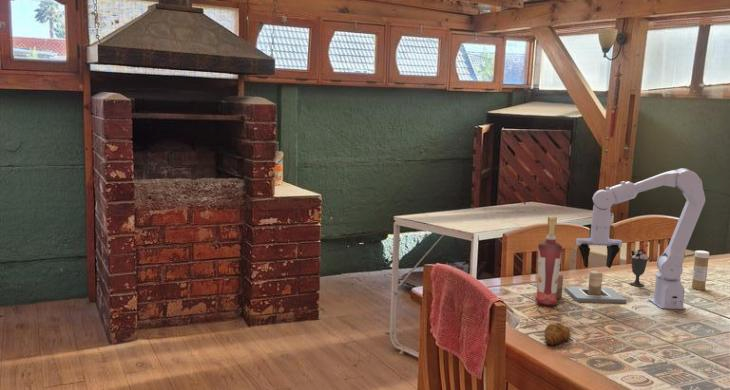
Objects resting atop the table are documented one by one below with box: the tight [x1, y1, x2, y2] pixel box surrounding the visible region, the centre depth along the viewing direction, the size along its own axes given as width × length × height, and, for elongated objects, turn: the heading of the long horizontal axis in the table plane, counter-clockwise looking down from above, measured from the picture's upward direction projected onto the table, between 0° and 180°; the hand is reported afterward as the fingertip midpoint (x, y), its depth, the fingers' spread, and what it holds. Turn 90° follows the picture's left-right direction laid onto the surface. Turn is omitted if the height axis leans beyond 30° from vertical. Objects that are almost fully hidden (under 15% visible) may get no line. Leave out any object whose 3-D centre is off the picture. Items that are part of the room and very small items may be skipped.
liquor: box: [534, 216, 563, 307], centre depth 202 cm, size 7×7×28 cm
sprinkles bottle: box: [691, 249, 710, 291], centre depth 227 cm, size 5×5×13 cm
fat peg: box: [556, 273, 564, 299], centre depth 213 cm, size 7×7×7 cm
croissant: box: [544, 322, 571, 347], centre depth 172 cm, size 14×7×5 cm, turn 146°
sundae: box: [629, 244, 651, 288], centre depth 228 cm, size 7×7×15 cm
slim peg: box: [587, 271, 603, 296], centre depth 213 cm, size 4×4×8 cm
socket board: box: [564, 286, 627, 304], centre depth 213 cm, size 13×16×1 cm
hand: (597, 266), depth 212 cm, fingers open, 7 cm apart
